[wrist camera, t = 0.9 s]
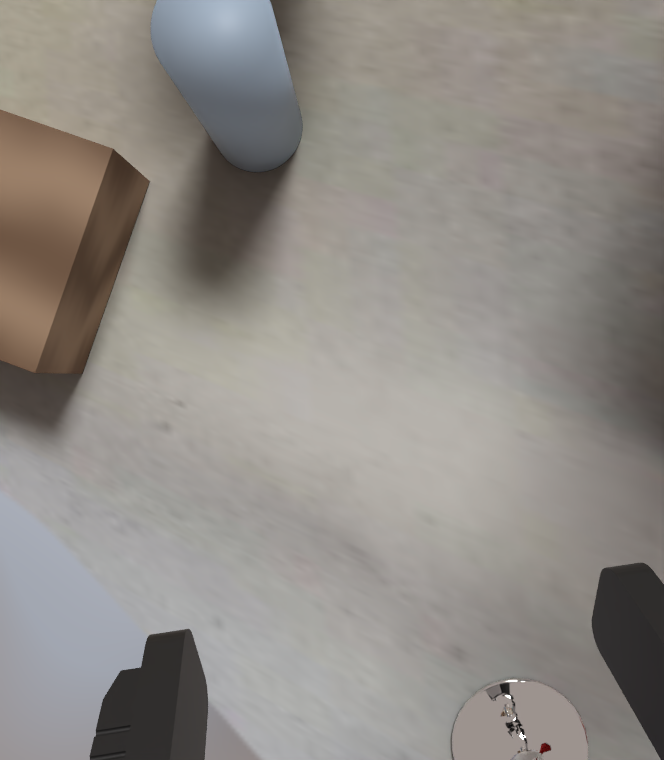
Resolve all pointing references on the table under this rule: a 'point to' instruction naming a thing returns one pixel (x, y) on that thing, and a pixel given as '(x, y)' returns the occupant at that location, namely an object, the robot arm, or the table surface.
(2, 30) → the table surface
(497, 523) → the table surface
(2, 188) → the walnut base
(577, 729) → the wineglass
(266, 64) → the blue-grey cylinder
